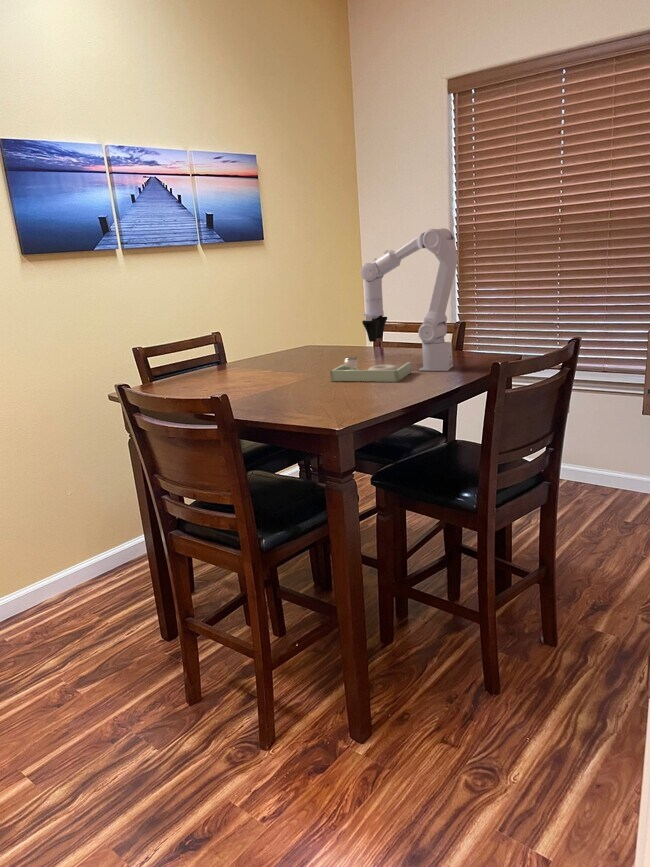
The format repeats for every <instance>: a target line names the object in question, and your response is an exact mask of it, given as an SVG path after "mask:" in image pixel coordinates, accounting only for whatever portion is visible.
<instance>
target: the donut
mask: <svg viewBox="0 0 650 867" xmlns="http://www.w3.org/2000/svg"><path fill="white" fill-rule="evenodd" d="M398 368H399V367H398V366H397V365H395V364H375V365H373V366H370V367H368V369H367V370H396V369H398Z"/></svg>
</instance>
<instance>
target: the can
mask: <svg viewBox="0 0 650 867" xmlns="http://www.w3.org/2000/svg"><path fill="white" fill-rule="evenodd" d="M358 360H359V357H358V356H346V357H343V364H344V366H345V370H359V361H358Z"/></svg>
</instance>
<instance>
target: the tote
mask: <svg viewBox="0 0 650 867" xmlns="http://www.w3.org/2000/svg"><path fill="white" fill-rule="evenodd" d="M411 364H412V362H411V361H407V362H406V363H404V364H402V365H401V366H400V367H398V369H396V370H368V369H358V370H345V366H344V363H342V364H340V365H338V366H337V367H335V368H333V369H331V370H329V371H330V372H329V374H330V382H331V381H359V382H358V383H366V382H365V381H379V382H378V383H399V382H401V381H402V380H403V379H405V378H406V377H407V376H409V375H410V374H411V373H412V365H411ZM408 374H409V375H408ZM404 377H405V378H404ZM400 380H401V381H400ZM360 381H362V382H360ZM363 381H364V382H363Z"/></svg>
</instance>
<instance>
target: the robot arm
mask: <svg viewBox="0 0 650 867" xmlns="http://www.w3.org/2000/svg"><path fill="white" fill-rule="evenodd" d="M421 249H426V250H428V251H429V252H431V253H432V254H434V256H435V257H436V259H437V260H438V261H439V262H438V263H439V265H438V270H437V273H436V278H435V283H434V287H433V291H432V295H431V299H430V304H429V310H428V312H427V313H426V315H425V316H424V318H423V322H422V323H421V325H420V326H419V328H418V337H419V339H420V340H421V345H422V346H421V348H422V349H421V350H422V351H421V352H422V353H421V354H422V366H421V367H420V368H419V369H418V370H419V372H420V371H422V372H423V371H424V372H426V371H429V372H430V371H433V372H434V371H435V372H436V371H438V372H440V371H441V372H444V371H446V372H448V371H449V370H450V369H452V368H453V367H454V365H453V345H452V344H453V343H452V342H451V341H445V336H446V335H447V332H448V326H447V320H448V317H447V315H446V311H447V307H448V304H449V298H450V294H451V290H452V287H453V282H454V278H455V274H456V269H457V265H458V262H459V255H458V254H459V253H458V251H457V250H458V249H457V246H456V237H455V235H454V234H453V233H452V232H451V230H449V229H448V228H443V227H442V228H429V229H427V230H426V231H424V232H421V233H419V235H416V236H415V237H414V238H412V239H411V240H409V241H408V242H407V243H405V244H404V245H403V246H401V247H400V248H398V249H396V251H395V250H393V249H390V250H385V251H383V254H382V255H380V256H379V257H378V258H377V257H375V258H373V259H372V262H366V263H365V264H363V265H362V267H361V269H360V277H362V279H363V281H364V295H365V296H364V297H365V311H366V312H363V313H362V315H363V316H364V317H365V319H364V320H362V321H361V322H362V325H363V327H364V328H365V331H366V334H367V338H368V341H369V342H370V343H371V342H372V343H373V342H374V343H375V342H377V339H383V336H384V330H385V325H386V323H387V320H388V316H385V312H384V305H383V287H382V286H383V285H382V284H383V281H382V280H383V278H384V277H385V275H386V274H388V273H389V272H392V271H393V270H395V269H397V268H398V267H399V266H400V265H401V262H402V260H403V259H405V258H407V257H409V256H410V255H412V254H414V253H416V252H418V251H420V250H421Z"/></svg>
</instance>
